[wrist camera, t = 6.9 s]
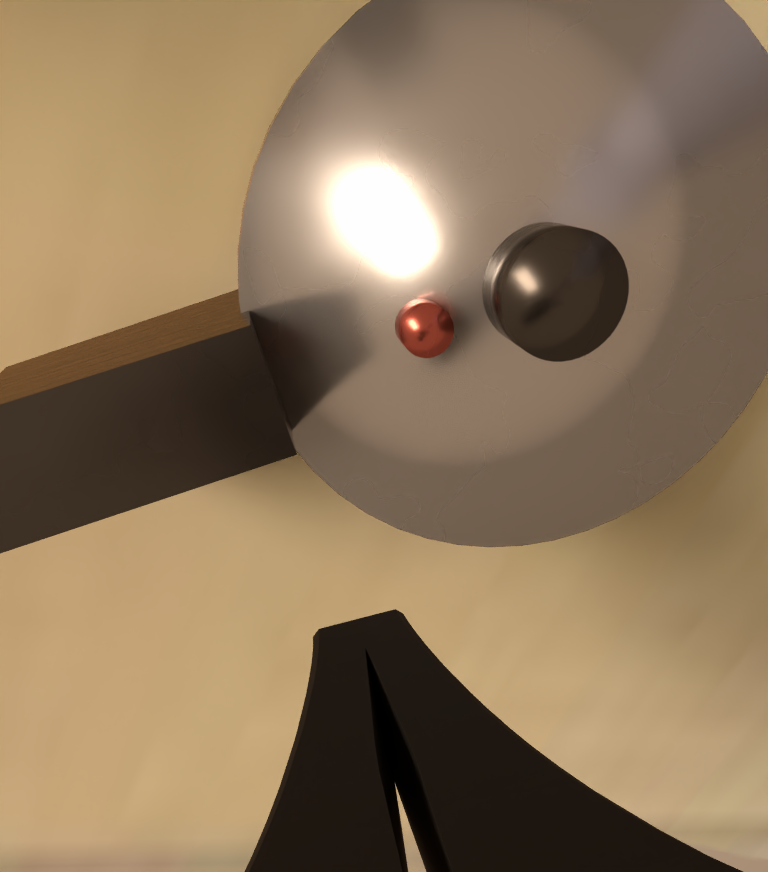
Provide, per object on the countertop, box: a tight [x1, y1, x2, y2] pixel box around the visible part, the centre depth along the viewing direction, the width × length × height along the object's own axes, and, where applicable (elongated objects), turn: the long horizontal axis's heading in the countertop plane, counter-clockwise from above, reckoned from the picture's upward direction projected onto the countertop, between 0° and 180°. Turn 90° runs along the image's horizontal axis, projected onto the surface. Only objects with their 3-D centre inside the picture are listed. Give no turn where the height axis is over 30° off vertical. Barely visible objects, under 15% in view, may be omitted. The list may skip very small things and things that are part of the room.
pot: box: [0, 290, 240, 380], centre depth 17 cm, size 19×11×4 cm, turn 107°
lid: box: [0, 0, 768, 553], centre depth 14 cm, size 17×12×2 cm
